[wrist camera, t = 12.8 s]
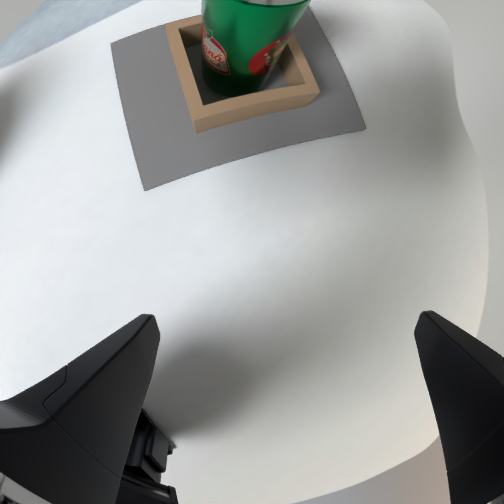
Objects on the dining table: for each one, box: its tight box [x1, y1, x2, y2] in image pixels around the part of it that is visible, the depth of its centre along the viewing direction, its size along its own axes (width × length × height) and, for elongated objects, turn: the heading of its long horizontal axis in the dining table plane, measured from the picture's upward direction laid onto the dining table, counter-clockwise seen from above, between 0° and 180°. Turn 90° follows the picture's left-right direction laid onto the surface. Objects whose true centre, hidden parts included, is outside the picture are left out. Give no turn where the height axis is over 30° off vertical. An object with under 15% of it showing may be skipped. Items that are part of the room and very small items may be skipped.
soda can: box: [201, 0, 311, 98], centre depth 12 cm, size 5×5×12 cm
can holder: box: [111, 6, 366, 191], centre depth 17 cm, size 18×14×3 cm
